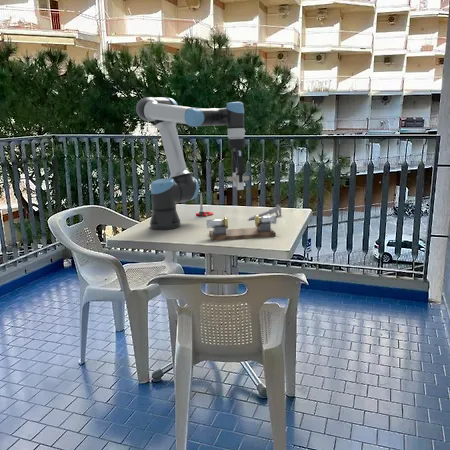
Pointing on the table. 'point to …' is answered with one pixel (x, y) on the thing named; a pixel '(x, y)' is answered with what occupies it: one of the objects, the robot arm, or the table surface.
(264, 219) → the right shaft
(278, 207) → the caliper
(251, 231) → the board
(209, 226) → the left shaft
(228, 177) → the pipe connector
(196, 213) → the tow hook
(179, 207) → the table surface
